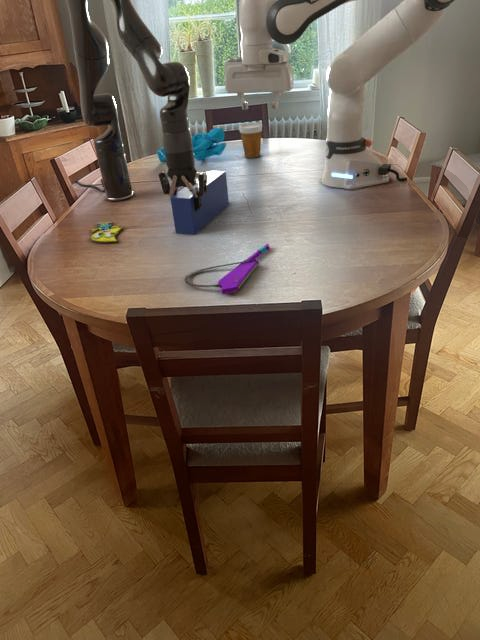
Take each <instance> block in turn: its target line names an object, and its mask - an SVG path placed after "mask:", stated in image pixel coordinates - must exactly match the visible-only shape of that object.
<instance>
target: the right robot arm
mask: <svg viewBox="0 0 480 640" xmlns="http://www.w3.org/2000/svg"><path fill="white" fill-rule="evenodd" d="M355 1H356V0H239V2H238V23H239V30H240V34H241V40H240V51H241V53H240V55H241V56H238V57H229V58H227V59H226V60H225V61H224V63H223V68H224V70H223V71H224V73H225V75H224V87H225V88H224V89H225V91H226V93H227V94H236V97H237V99H238V101H239V102H240V104H241V110H249V102H248V101H246V100H245V98H244V97H245V94H254V93H257V94H258V93H274V97H275V99H274V101H272V102H271V109H272V110H277V109H278V108H279V102H280V99H281V97H282V93H287V92H288V93H289V92H290V91H292V89H293V88H294V72H293V67H292V65H291V63H290V62H289V60H290V53H289V52H288V51H285V50H282V49H278V48H275V47H273V41H274V42H276V43H278V44H280V45H291V44H293V43H295V42H296V41H298V40H299V39H300V38H301V37H302V35H303V34H304V33H305V31H306V30H307V29H308V27H309V26H310V25H311V24H312V23H314V22H315V21H317V20H318V19H320V18H322V17H323V16H325V15H327V14H328V13H330V12H331V11H333V10H335V9H337V8H339V7H341V6H342V5H345V4H347V3H350V2H355ZM455 1H456V0H403V1H401V2H400V3H399V4H398V5H396V6H395V7H394V8H393V9H391V11H389V13H387V14H386V15H384V16H383V17H382V18H381V19H380V20H378V22H376V23H375V24H374V25H373V26H371V28H369V29H368V30H367V31H366V32H365V33H364V34H362V35H361V36H360V37H359V38H358V39H356V40H355V41H354V42H353V43H352V44H351V45H349V46H348V47H347V48H346V49H345V50H343V52H340V53H339V54H338V55H337V56H336V57H335V58H334V59H333V60H332V61H331V63H330V64H329V65H328V67H327V70H326V83H327V86H328V88H329V95H328V108H327V123H326V124H327V126H326V127H327V129H326V130H327V133H326V139H325V145H324V154H325V155H324V156H325V164H324V170H323V175H322V178H321V183H322V185H324V186H327V187H330V188H338V189H339V188H341V189H346V190H356V189H361V188H366V187H371V186H376V185H380V184H385V183H389V182H390V176H389V175H388V174H389V173H391V174H392V173H393V174H394V175H395V179H396V181H399V182H405V181H408V176H407V177H400V173H399V172H398V171H397V170H395V169H392V164H391V163H382V161H381V159H380V158H379V157H377V156H376V155H375V154H373V152H371V151H370V150H368V148H370V147H371V146H373V141H372V140H371V139H368V138H367V139H366V138H364V137H362V134H363V118H364V106H365V93H366V84H367V83H368V82H369V81H370V80H372V79H373V78H374V77H375V76H377V75H378V74H379V73H380V72H382V70H383V69H384V68H386V66H388V65H389V64H391V62H393V61H394V60H396V59H397V58H399V56H401V55H402V54H403V53H404V52H406V51H407V50H408V49H409V48H411V47H412V46H414V45H415V43H417V42H418V41H420V40H421V39H422V38H423V37H424V36H426V34H428V32H430V31H431V30H432V29H433V28H434V27H435V25H437V24H438V23H439V22H440V20H441V19H442V18H443V16H444V15H445V12H446V8H448V7H449V6H450V5H452V4H453V3H454V2H455Z"/></svg>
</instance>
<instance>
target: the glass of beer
mask: <svg viewBox="0 0 480 640" xmlns="http://www.w3.org/2000/svg"><path fill="white" fill-rule="evenodd" d="M262 131H263V126H262V124H261V123H245V124H241V125H240V126H239V133H240V137H241V142H242V147H243V152H244V157H245V158H248V159H249V158H251V159H252V158H253V159H254V158H258V157H260V156H261V144H262Z"/></svg>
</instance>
